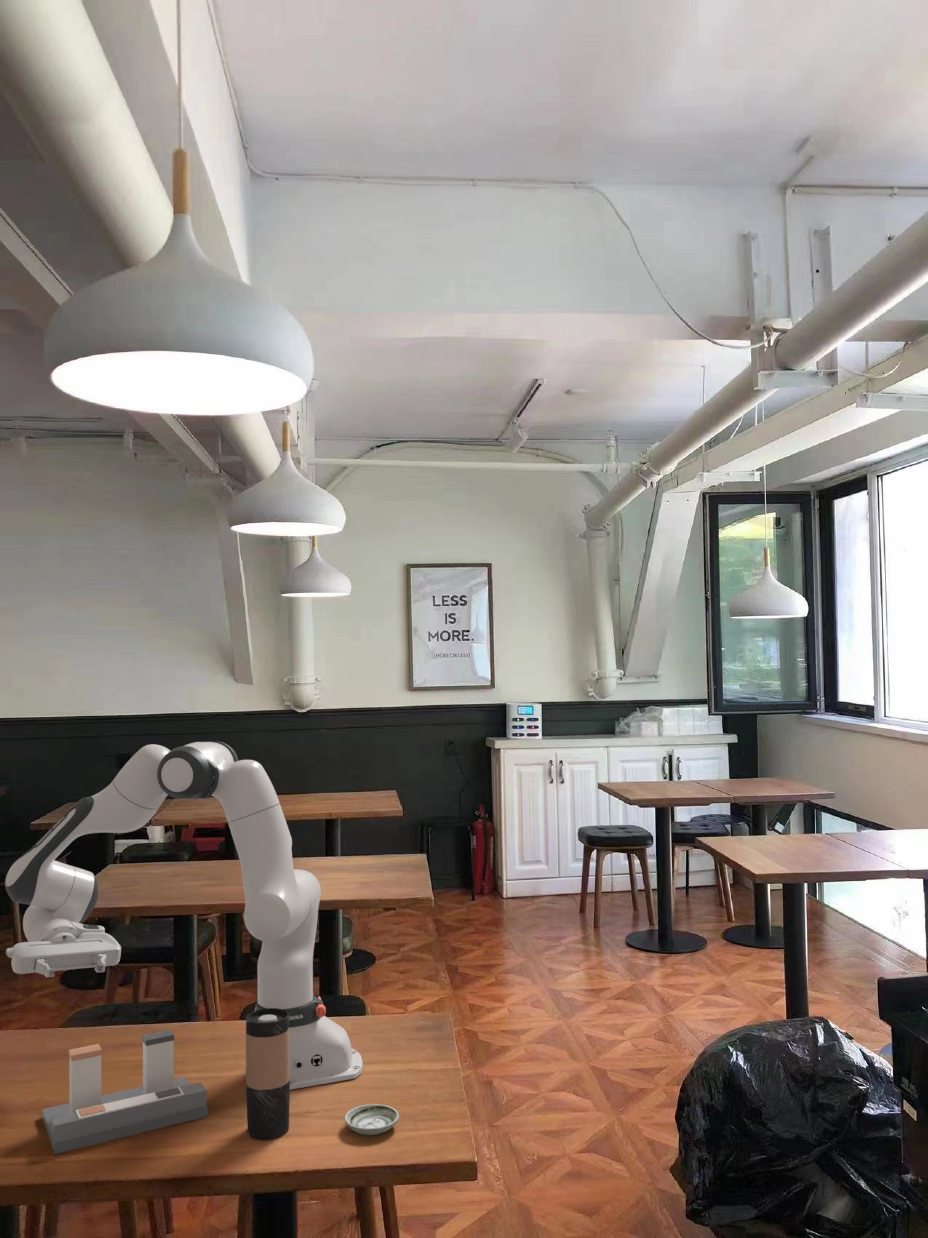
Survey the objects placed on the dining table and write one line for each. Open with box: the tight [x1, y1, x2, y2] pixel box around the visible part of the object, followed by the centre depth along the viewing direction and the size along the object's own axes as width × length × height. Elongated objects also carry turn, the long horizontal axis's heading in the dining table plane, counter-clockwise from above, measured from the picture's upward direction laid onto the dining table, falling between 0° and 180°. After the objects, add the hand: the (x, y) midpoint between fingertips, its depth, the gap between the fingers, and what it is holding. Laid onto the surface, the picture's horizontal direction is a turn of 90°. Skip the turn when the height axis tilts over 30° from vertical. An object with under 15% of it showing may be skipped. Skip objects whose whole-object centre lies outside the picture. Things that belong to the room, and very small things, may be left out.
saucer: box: [343, 1103, 400, 1136], centre depth 174 cm, size 10×10×2 cm
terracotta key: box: [68, 1043, 103, 1112], centre depth 179 cm, size 3×5×11 cm, turn 120°
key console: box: [41, 1076, 209, 1155], centre depth 180 cm, size 26×16×5 cm, turn 120°
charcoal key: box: [141, 1029, 175, 1095], centre depth 185 cm, size 3×5×11 cm, turn 120°
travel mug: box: [245, 1008, 291, 1141], centre depth 174 cm, size 8×8×20 cm
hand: (76, 971), depth 189 cm, fingers open, 8 cm apart
